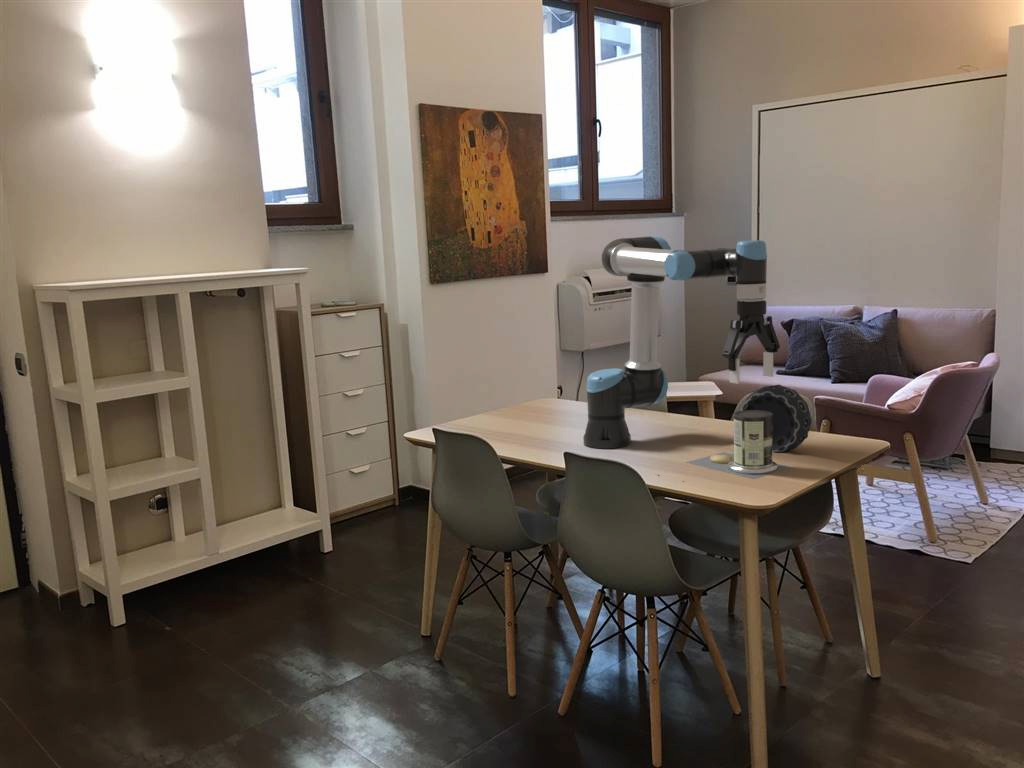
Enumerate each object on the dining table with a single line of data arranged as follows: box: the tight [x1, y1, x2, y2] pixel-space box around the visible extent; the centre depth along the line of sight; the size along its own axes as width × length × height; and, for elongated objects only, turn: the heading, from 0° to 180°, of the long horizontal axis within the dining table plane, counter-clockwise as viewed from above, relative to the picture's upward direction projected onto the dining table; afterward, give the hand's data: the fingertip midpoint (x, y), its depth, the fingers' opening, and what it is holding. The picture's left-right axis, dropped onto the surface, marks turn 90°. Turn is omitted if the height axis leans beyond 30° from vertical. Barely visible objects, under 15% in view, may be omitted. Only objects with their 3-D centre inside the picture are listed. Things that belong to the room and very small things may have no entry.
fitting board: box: [685, 451, 793, 480], centre depth 242 cm, size 24×16×2 cm, turn 35°
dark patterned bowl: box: [739, 384, 813, 453], centre depth 257 cm, size 11×20×20 cm, turn 51°
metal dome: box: [728, 460, 778, 475], centre depth 238 cm, size 13×13×1 cm
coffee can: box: [732, 410, 773, 469], centre depth 237 cm, size 10×10×14 cm
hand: (751, 379), depth 234 cm, fingers open, 13 cm apart
